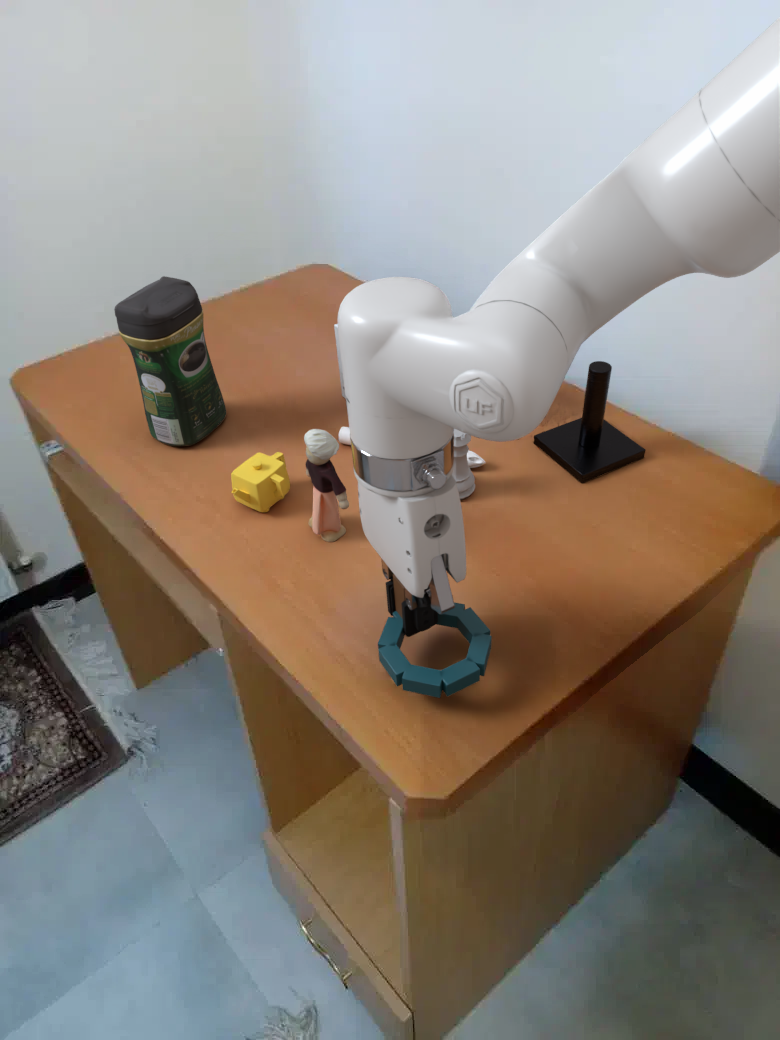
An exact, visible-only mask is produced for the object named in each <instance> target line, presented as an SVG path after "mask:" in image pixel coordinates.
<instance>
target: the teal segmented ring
mask: <svg viewBox="0 0 780 1040" xmlns="http://www.w3.org/2000/svg"><path fill="white" fill-rule="evenodd" d="M393 584H394V596H395V609H396V611H395V612H393V616H388V617H387V619H386V622H385V624H384V627H383V629H382V631H381V634H380V637H379V639H378V642H377V650H378V660H379V663H380V664H381V665H382V667H383V668H384V670H385V671H386V673H387V674H388V675H389V677H390V679H391V680H392V681H393V683H394V684H395V686H396V687H400V686H402V691H404V692H405V691H406V692H409V693H415V694H418V695H423V696H429V697H434V698H439V699H441V697H442V694H443V693H444V695H445V696H446V697H450V696H452V695H454V694H456V693H458V692H460V691H463V690H464V689H466V688H468V687H470V686H472V685H474V684H476V683H478V682H481V681H480V680H481V677H485V674H486V670H487V667H488V662H489V658H490V654H491V652H492V645H493V643H492V641H493V636H492V635H491V629H490V628H489V627H488V626H487V625H486V623H485V622H484V621H483V620H482V619H481V618H480V616H479V615H478V614H477V613H476V612H475V611H474V609H473V608H472V607H471V606H469V607H467V608H466V604H465V603H461V602H455V601H454V605H455V608H454V609H452V610H450V611H448V612H445V613H443V614H439V613H438V622H437V624H436V625H435V626H441V627H448V628H452V629H457V630H458V632H459V633H460V634H461V635H462V637H464V639H465V640H466V641H467V643H468V644H469V647H468V651H467V653H466V656H465V658H463V659H461V660H458V661H457V662H455V663H453V664H451V665H448V666H447V667H445V668H442V669H435V668H432V667H427V666H422V665H417V664H411V662H410V661H409V660H408V657H406V655H405V654H404V653H403V651H402V650H401V647H402V646H403V642H404V640H405V636H406V635H405V633H404V632H403V619H402V605H401V603H402V602H403V601H406V600H405V588H404V586H403V584H402V583H401V582H400V581H399V580H398V578H397V577H396V576H395V575H394V574H393Z"/></svg>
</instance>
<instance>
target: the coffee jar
mask: <svg viewBox="0 0 780 1040" xmlns="http://www.w3.org/2000/svg"><path fill="white" fill-rule="evenodd" d="M113 310H114V316H115V318H116V323H117V330H118V333H119V335H120V337H121V340H122V341H123V342H124V343H125V344H126V346H127V347H128V348H129V351H130V353H131V354H130V355H131V356H132V359H133V363H134V367H135V371H136V375H137V380H138V384H139V388H140V393H141V399H142V403H143V408H144V409H143V410H144V414H145V419H146V423H147V426H148V430H149V433H150V435H151V437H152V438H153V439H155V440H156V441H158V442H159V443H162V444H164V445H167V446H170V447H188V446H189V447H191V446H193V445H196V444H197V443H200V442H201V441H202V440H203V439H205V438H206V437H207V436H209V435H211V433H212V432H214V431H215V430H216V429H217V428H218V427H219V426H220V425H222V423H223V422H224V420H225V419H226V416H227V407H226V404H225V400H224V397H223V393H222V391H221V387H220V384H219V383H218V379H217V376H216V374H215V373H216V372H215V369H214V366H213V363H212V360H211V356H210V353H209V350H208V346H207V341H206V337H205V336H206V335H205V330H204V309H203V306H202V303H201V301H200V298H199V294H198V292H197V290H196V289H195V286H193V284H192V283H191V282H189V281H188V280H185V279H181V278H176V277H171V276H165V275H163V276H161V277H160V278H159V279H157V280H155V281H153V282H151V283H149V284H147V285H145V286H144V287H142V288H140V289H139V290H137V291H135V292H134V293H132V294H130V295H129V296H127V297H125V298H124V299H123V300H121V301H119V302H118V303H117V304H116V305H115V306H114V309H113Z"/></svg>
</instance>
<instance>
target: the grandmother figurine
mask: <svg viewBox="0 0 780 1040" xmlns="http://www.w3.org/2000/svg"><path fill="white" fill-rule="evenodd" d="M303 441H304V445H306V447H305V456H306V462H305V475H306V476H307V477H309V478H310V482H311V483H312V487H313V489H312V515H311V517H310V518H309V520H308V526H309V527H310V528H311V529H312V532H313V533H314V534H315V535H317V536H320V538H321V539H322V540H323V541H325V542H327V543H332V542H335V541H337V540H338V539H340V538H341V537H342V536H344V535H345V534H346V532H347V529H346V527H345V526H344V525H343V524H341V523H342V522H341V515H340V511H339V508H340V509H341V510H347V509H348V508H349V506H350V502H349V500H348V495H347V488H346V486H345V485H344V483H343V482H342V480H341V478H340V477H339V475H338V473H337V470H336V468H335V466H334V464H333V462H332V460H331V458H332V457H333V456H335V455H337V454H338V452H339V449H340V444H339V443H340V442H339V441H338V439H336V438H335V436H333V435H332V434H331V433H329V432H328V431H327V430H325V429H320V428H312V429H309V430H308V431H307V432H305V433H304V436H303Z"/></svg>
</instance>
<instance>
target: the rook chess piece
mask: <svg viewBox="0 0 780 1040" xmlns="http://www.w3.org/2000/svg"><path fill="white" fill-rule="evenodd" d="M471 440H472V436H471V435H469V434H466V433H464V432H461V431H459V430H457V429H454V469H453V472H452V476H453V477H454V479H455V481H456V484H457V488H458V492H459V497H460V501H461V500H465V499H466V498H468V497H469V496H470V495H472V494H473V492H474V491H475V489H476V484H475V481H476V479H475V476H474V473H473V471H472V470H471V468H469V467H468V461H467V453H468V451H469V450H470V448H469V445H468V444H469V443H470V442H471Z"/></svg>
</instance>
